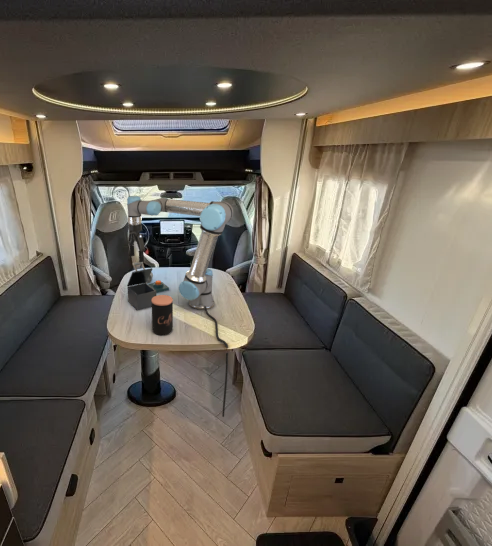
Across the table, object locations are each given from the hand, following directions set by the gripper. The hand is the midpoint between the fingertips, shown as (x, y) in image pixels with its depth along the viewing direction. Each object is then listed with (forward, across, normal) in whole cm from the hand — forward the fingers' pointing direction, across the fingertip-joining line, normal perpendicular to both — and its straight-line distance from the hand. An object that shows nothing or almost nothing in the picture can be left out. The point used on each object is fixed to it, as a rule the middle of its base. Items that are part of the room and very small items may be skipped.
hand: (136, 259), depth 185 cm
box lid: (+11, -4, 0) cm, 12 cm away
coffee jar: (+27, -40, +4) cm, 49 cm away
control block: (+27, +9, -19) cm, 34 cm away
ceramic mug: (+27, +25, -17) cm, 41 cm away
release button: (+23, +9, -19) cm, 31 cm away
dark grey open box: (+27, -6, 0) cm, 28 cm away
